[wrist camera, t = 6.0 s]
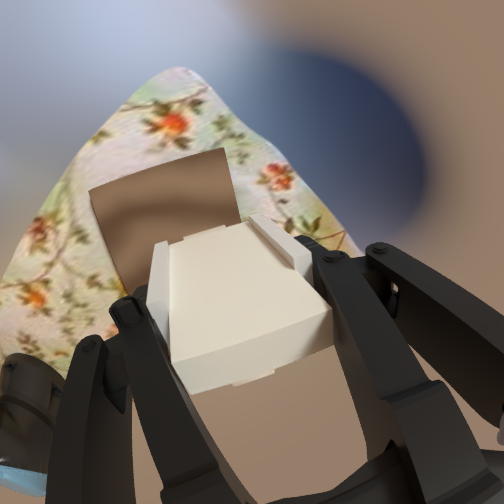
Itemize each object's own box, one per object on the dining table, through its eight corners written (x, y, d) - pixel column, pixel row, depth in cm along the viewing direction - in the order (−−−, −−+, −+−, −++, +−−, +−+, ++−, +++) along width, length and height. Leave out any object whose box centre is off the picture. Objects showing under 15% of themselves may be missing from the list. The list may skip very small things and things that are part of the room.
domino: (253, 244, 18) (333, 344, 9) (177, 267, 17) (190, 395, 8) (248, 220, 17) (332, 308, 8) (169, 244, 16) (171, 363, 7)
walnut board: (263, 325, 41) (267, 331, 40) (164, 356, 38) (164, 362, 37) (221, 147, 30) (223, 147, 29) (91, 189, 28) (88, 191, 26)
